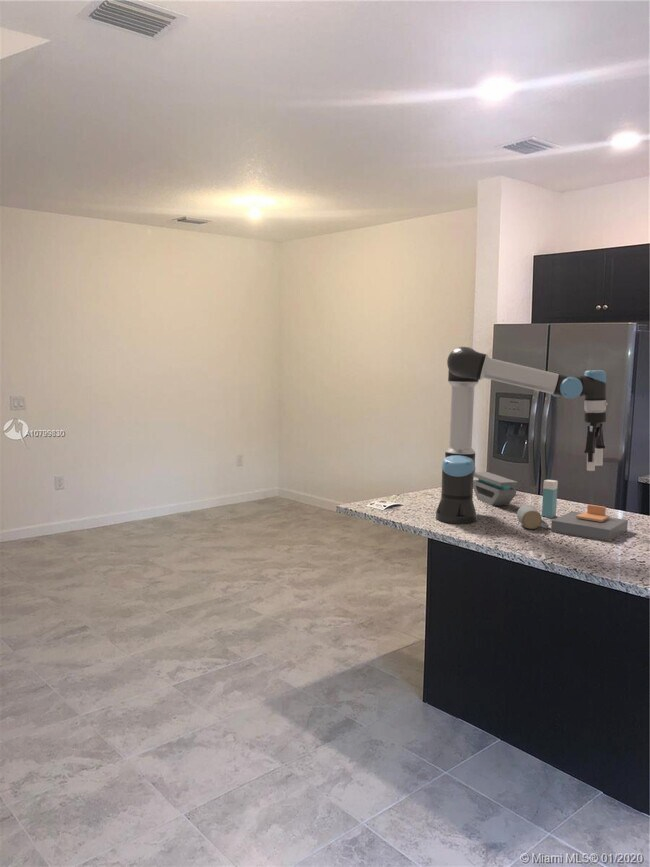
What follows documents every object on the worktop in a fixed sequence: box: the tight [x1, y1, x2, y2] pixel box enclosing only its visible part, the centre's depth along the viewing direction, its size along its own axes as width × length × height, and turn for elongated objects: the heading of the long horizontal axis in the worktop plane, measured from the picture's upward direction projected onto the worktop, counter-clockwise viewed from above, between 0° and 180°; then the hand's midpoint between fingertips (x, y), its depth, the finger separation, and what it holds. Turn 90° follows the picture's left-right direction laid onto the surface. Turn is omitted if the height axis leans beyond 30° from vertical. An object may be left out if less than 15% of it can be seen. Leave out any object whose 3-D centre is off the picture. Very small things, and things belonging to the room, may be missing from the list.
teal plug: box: [541, 479, 559, 519], centre depth 270 cm, size 4×4×14 cm
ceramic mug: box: [516, 504, 550, 530], centre depth 252 cm, size 11×8×8 cm
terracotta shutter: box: [576, 504, 611, 522], centre depth 250 cm, size 9×9×4 cm
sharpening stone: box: [473, 471, 519, 506], centre depth 295 cm, size 25×8×11 cm, turn 16°
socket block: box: [550, 510, 629, 542], centre depth 248 cm, size 20×20×4 cm
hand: (594, 468), depth 262 cm, fingers open, 13 cm apart
